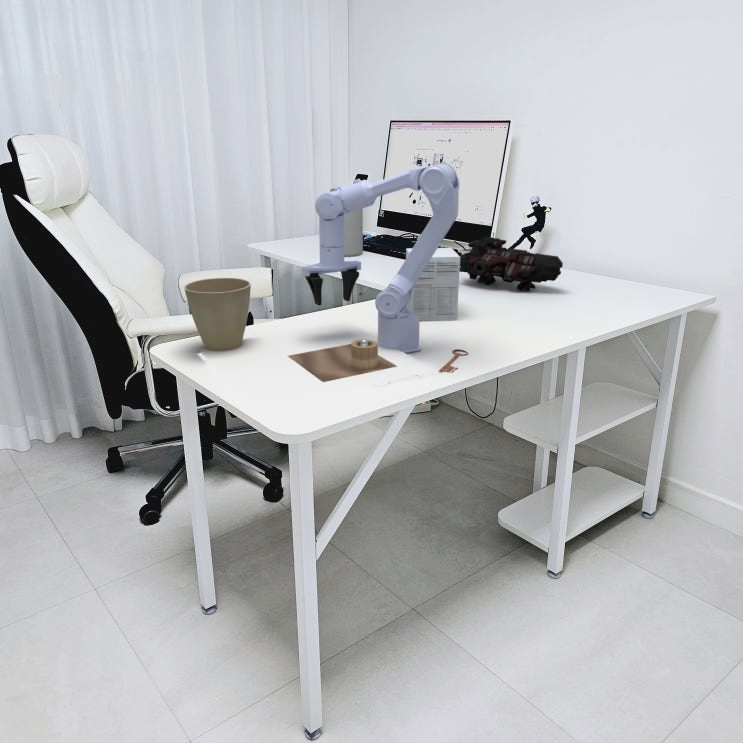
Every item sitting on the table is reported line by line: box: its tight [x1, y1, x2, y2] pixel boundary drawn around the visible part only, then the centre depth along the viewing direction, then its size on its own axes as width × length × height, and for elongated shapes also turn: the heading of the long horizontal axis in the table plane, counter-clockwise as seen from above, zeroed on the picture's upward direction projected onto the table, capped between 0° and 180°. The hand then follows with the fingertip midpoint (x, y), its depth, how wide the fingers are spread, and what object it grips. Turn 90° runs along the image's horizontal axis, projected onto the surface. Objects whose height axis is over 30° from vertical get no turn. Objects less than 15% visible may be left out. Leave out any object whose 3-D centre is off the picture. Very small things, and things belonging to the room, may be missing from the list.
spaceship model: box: [460, 236, 564, 292], centre depth 210 cm, size 19×32×15 cm, turn 53°
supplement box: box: [405, 247, 461, 322], centre depth 181 cm, size 13×13×18 cm
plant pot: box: [183, 277, 252, 352], centre depth 153 cm, size 15×15×16 cm
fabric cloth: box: [287, 343, 398, 383], centre depth 146 cm, size 18×18×2 cm
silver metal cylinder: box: [360, 338, 368, 346], centre depth 142 cm, size 2×2×6 cm
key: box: [438, 348, 469, 374], centre depth 149 cm, size 6×1×15 cm
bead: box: [350, 339, 379, 370], centre depth 142 cm, size 6×6×5 cm
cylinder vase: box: [329, 187, 364, 258], centre depth 258 cm, size 12×12×25 cm
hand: (332, 302), depth 157 cm, fingers open, 7 cm apart
